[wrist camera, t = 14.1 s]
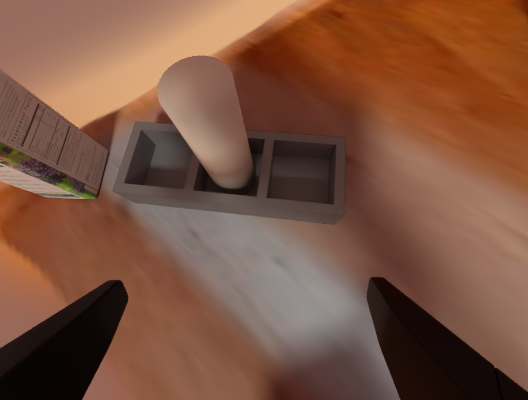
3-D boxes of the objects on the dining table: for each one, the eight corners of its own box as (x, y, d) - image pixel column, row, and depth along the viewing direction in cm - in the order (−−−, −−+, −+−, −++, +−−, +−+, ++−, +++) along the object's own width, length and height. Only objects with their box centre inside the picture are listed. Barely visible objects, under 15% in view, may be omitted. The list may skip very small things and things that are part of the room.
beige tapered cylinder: (212, 194, 23) (148, 116, 12) (219, 157, 24) (167, 53, 13) (252, 198, 23) (226, 121, 12) (258, 160, 24) (239, 57, 13)
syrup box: (45, 198, 25) (-244, 103, 11) (62, 148, 27) (-170, 11, 13) (97, 200, 25) (-136, 102, 11) (111, 148, 26) (-74, 8, 12)
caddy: (135, 202, 24) (112, 190, 21) (153, 141, 26) (135, 121, 23) (334, 224, 22) (343, 215, 19) (336, 156, 24) (346, 137, 21)
